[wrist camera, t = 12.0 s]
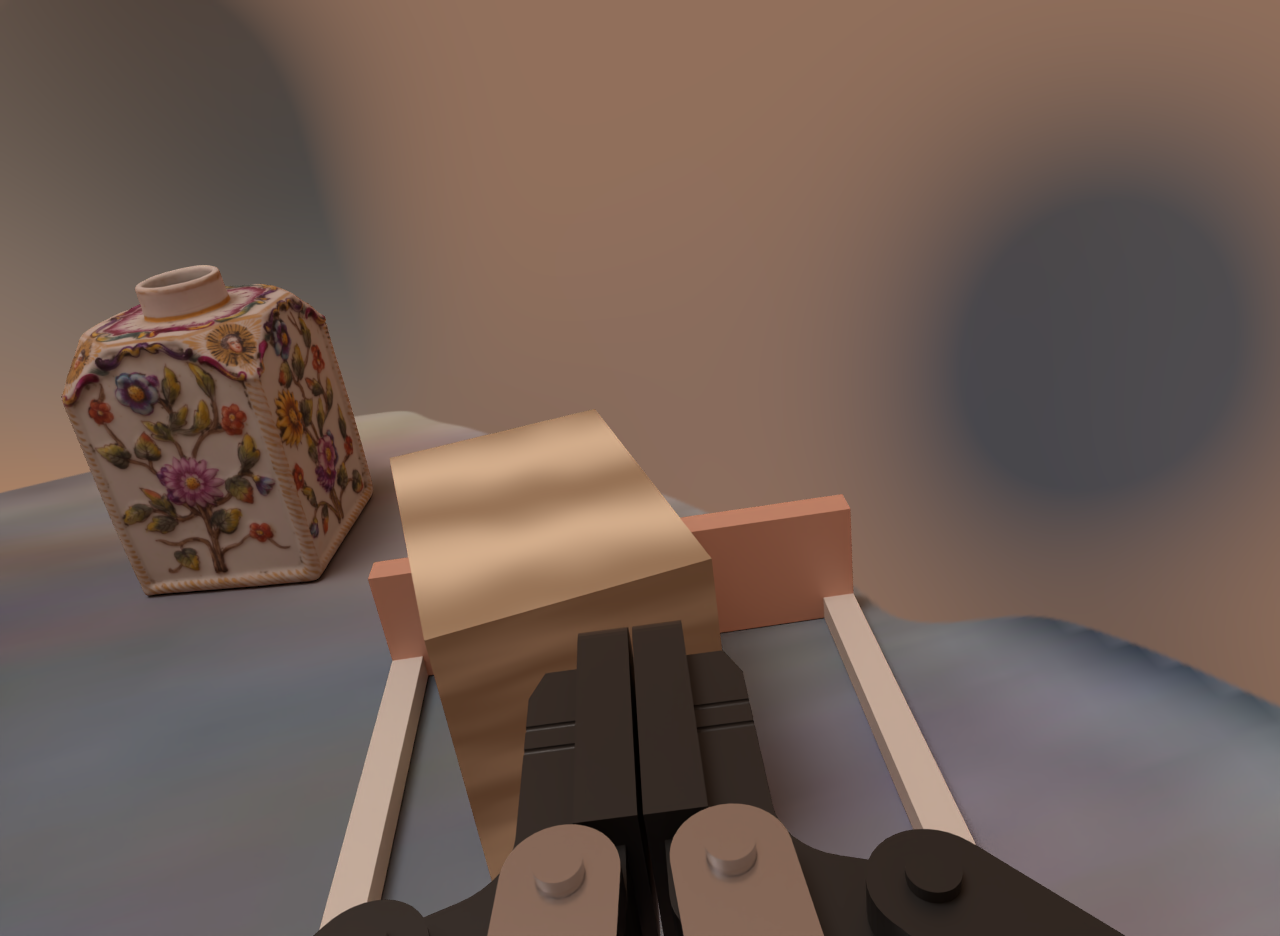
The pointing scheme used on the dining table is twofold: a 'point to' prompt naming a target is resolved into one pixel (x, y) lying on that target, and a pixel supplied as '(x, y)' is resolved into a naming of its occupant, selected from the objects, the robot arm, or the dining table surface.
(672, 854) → the robot arm
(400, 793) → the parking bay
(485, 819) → the wooden block
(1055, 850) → the dining table surface
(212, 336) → the decorative jar
